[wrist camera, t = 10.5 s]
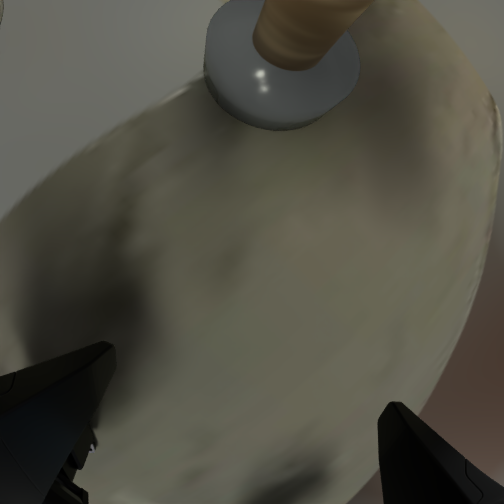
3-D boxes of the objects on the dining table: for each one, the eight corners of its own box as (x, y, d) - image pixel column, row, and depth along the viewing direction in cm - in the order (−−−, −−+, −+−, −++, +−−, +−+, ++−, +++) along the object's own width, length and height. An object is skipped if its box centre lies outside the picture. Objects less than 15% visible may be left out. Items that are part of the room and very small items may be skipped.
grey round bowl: (201, 129, 18) (203, 106, 14) (206, 18, 17) (210, -14, 13) (341, 136, 20) (369, 121, 16) (327, 32, 19) (347, 7, 15)
